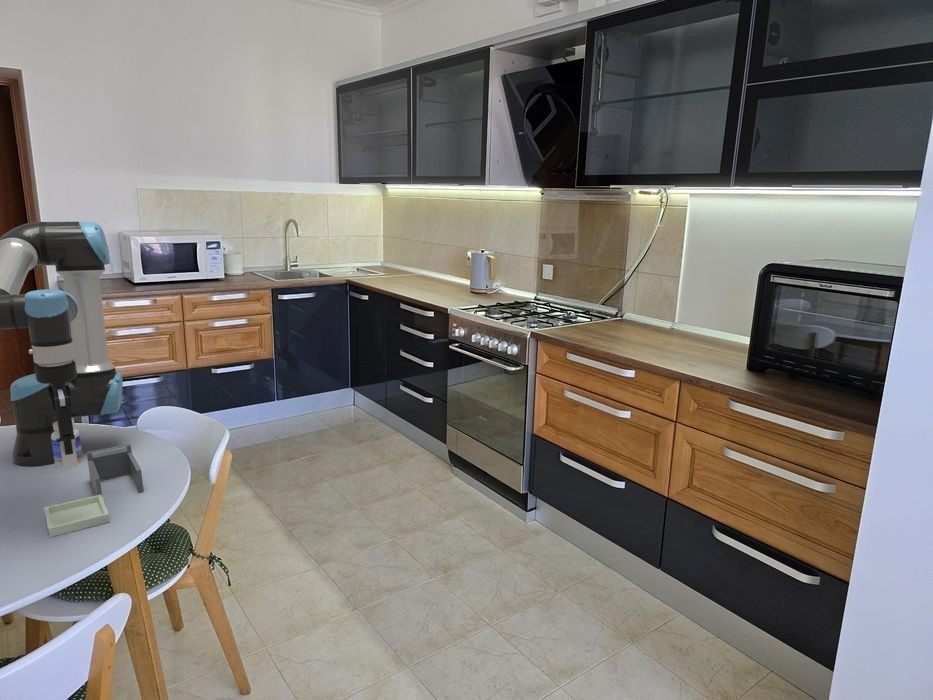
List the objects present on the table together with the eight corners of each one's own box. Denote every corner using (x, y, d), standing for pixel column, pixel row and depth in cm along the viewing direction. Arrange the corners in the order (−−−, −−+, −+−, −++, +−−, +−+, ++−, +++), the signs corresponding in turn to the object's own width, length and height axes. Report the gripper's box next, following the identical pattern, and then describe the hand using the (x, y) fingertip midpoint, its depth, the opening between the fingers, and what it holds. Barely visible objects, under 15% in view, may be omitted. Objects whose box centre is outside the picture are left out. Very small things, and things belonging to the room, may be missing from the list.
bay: (90, 480, 164) (86, 452, 163) (133, 471, 170) (130, 443, 168) (98, 502, 154) (94, 471, 152) (143, 491, 159) (140, 462, 157)
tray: (45, 515, 147) (44, 507, 147) (102, 501, 154) (101, 494, 153) (49, 537, 138) (48, 529, 138) (109, 521, 145) (108, 514, 144)
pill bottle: (70, 469, 140) (64, 427, 137) (49, 466, 141) (42, 425, 138) (89, 459, 145) (83, 419, 142) (68, 456, 146) (62, 416, 143)
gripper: (31, 355, 142) (46, 451, 148) (36, 375, 128) (53, 481, 133) (70, 350, 146) (83, 444, 152) (80, 369, 132) (93, 472, 138)
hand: (69, 461), depth 143 cm, fingers closed on pill bottle, 5 cm apart
